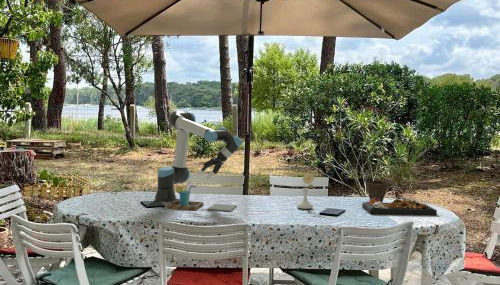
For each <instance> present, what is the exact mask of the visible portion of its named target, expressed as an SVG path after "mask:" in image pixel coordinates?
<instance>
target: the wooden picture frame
mask: <svg viewBox="0 0 500 285" xmlns="http://www.w3.org/2000/svg"><path fill="white" fill-rule="evenodd" d="M203 206H204V202H203V201H195V200H194V201H191V200H189V205H188V206H185V205H180V200H178V199H176V200H175V201H171V202H170V203H168V204H167V209H170V210H171V209H172V210H174V209H175V210H188V211H197V210H199V209H200V208H202V207H203Z"/></svg>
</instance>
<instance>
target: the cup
mask: <svg viewBox="0 0 500 285" xmlns="http://www.w3.org/2000/svg"><path fill="white" fill-rule="evenodd" d="M191 188H197V185H190V186H189V189H188V190H184V188H183V187H182V186H181V185H179V186H176V189H175V191H176V193H177V194H179V201H180V204H179V205H185V206H190V205H189V201H190V194H191Z"/></svg>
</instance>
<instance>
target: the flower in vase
mask: <svg viewBox="0 0 500 285" xmlns="http://www.w3.org/2000/svg"><path fill="white" fill-rule="evenodd" d="M314 180H315V176H314V175H313V174H312V173H306V174H304V175H303V177H302V181H303V183H304V184H303V186H304V187H303V188H301V190H302V195H303V198H302V200H300V202H298V203H297V204H296V207H297V208H298V209H302V210H311V209H313V207H314V206H313V204H312V203H311V202H310V201H309V200H308V198H307V197H308V192H309V190H310V189H312V188H315V187H314V185H313V184H312V183H313V182H314ZM305 184H307V186H306V185H305Z"/></svg>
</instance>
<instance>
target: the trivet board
mask: <svg viewBox="0 0 500 285" xmlns="http://www.w3.org/2000/svg"><path fill="white" fill-rule="evenodd" d="M236 208H238V205H237V204H223V203H222V204H221V203H214V204H212V205H210V206H209V207H207V208H206V210H207V211H209V212H210V211H212V212H213V211H215V212H230V213H231V212H232V211H233V210H235V209H236Z"/></svg>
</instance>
